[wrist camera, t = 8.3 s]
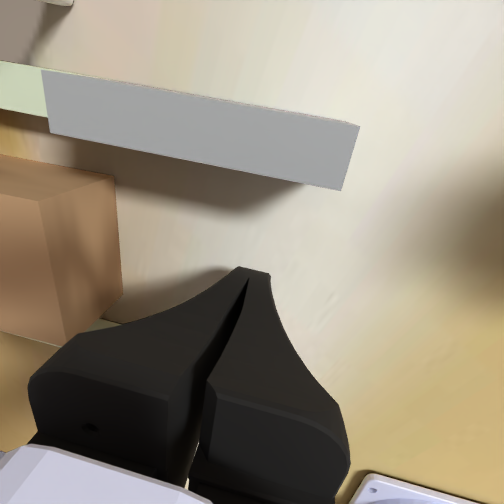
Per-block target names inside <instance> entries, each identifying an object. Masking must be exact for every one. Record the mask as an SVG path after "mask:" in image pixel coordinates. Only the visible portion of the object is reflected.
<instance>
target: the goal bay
mask: <svg viewBox="0 0 504 504" xmlns="http://www.w3.org/2000/svg"><path fill="white" fill-rule="evenodd" d="M41 70H47V71H53V72H60V73H67V74H73V75H80V76H87V75H81V74H75V73H70V72H64V71H58V70H53V69H47V68H41V67H36V66H30V65H25V64H19V63H13V62H8V61H2V60H0V108H2V109H7V110H12V111H17V112H22V113H27V114H32V115H37V116H43V117H48V115H47V109H46V102H45V95H44V88H43V81H42V75H41ZM87 77H92V76H87ZM94 78H98V77H94ZM100 79H103V78H100ZM107 80H109V79H107ZM114 81H115V80H114ZM118 325H122V324H118V323H114V322H110V321H107V320H103V319H99V318H98V319H97V320H96V321H95V322H94V323H93V324H92V325H91V326H90V327H89V328H88V329H87V330H86V331H85V332H89V331H94V330H99V329H104V328H109V327H114V326H118ZM3 332H4V331H3ZM6 333H8V332H6ZM10 334H12V333H10ZM14 335H16V334H14ZM17 336H19V335H17ZM21 337H23V336H21ZM24 338H27V337H24ZM28 339H31V338H28ZM32 340H35V339H32ZM35 341H39V340H35ZM39 342H42V343H46V342H43V341H39ZM46 344H50V343H46ZM50 345H53V346H57V347H60V348H61V347H62V346H58V345H54V344H50Z"/></svg>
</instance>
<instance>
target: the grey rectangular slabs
mask: <svg viewBox="0 0 504 504" xmlns="http://www.w3.org/2000/svg"><path fill="white" fill-rule="evenodd" d="M41 75H42V81H43V88H44V95H45V102H46V109H47V115H48V122H49V129H50V133H54V134H59V135H64V136H69V137H74V138H79V139H84V140H89V141H94V142H99V143H104V144H109V145H114V146H119V147H124V148H128V149H133V150H138V151H143V152H148V153H153V154H158V155H163V156H168V157H173V158H178V159H183V160H188V161H193V162H198V163H203V164H208V165H213V166H218V167H223V168H228V169H233V170H238V171H243V172H248V173H253V174H258V175H263V176H268V177H273V178H278V179H283V180H288V181H293V182H298V183H303V184H308V185H313V186H318V187H323V188H328V189H333V190H338V191H341V189H342V186H343V182H344V179H345V176H346V172H347V169H348V165H349V162H350V159H351V155H352V152H353V149H354V145H355V142H356V139H357V135H358V132H359V129H360V126H357V125H354V124H351V123H348V122H346V121H340V120H335V119H329V118H323V117H318V116H312V115H306V114H301V113H295V112H289V111H284V110H278V109H273V108H267V107H261V106H256V105H250V104H244V103H239V102H233V101H227V100H222V99H216V98H211V97H205V96H199V95H194V94H188V93H182V92H177V91H171V90H165V89H160V88H154V87H149V86H143V85H137V84H132V83H126V82H120V81H114V80H107V79H100V78H94V77H87V76H80V75H73V74H67V73H60V72H53V71H47V70H41Z"/></svg>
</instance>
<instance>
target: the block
mask: <svg viewBox="0 0 504 504" xmlns="http://www.w3.org/2000/svg"><path fill="white" fill-rule="evenodd" d="M122 295H123V286H122V273H121V260H120V246H119V233H118V220H117V207H116V194H115V181H114V176H111V175H106V174H101V173H96V172H90V171H85V170H80V169H75V168H69V167H64V166H59V165H53V164H48V163H43V162H38V161H32V160H27V159H22V158H17V157H11V156H6V155H1V154H0V331H4V332H8V333H12V334H16V335H19V336H23V337H27V338H31V339H35V340H39V341H43V342H46V343H50V344H54V345H58V346H63V345H64V344H66V343H67V342H68V341H69V340H70V339H72V338H73V337H74V336H75V335H76V334H77V333H83V332H85V331H86V330H87V329H88V328H89V327H90V326H91V325H92V324H93V323H94V322H95V321H96V320H97V319H98V318H99V317H100V316H101V315H102V314H103V313H104V312H105V311H106V310H108V309H109V308H110V307H111V306H112V305H113V304H114V303H115V302H116V301H117V300H118V299H119V298H120V297H121V296H122Z"/></svg>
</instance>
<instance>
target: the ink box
mask: <svg viewBox="0 0 504 504" xmlns="http://www.w3.org/2000/svg"><path fill="white" fill-rule="evenodd" d="M37 1H42V2H46V3H51V4H56V5H61V6H71V5H72V4H73V0H37Z"/></svg>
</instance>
